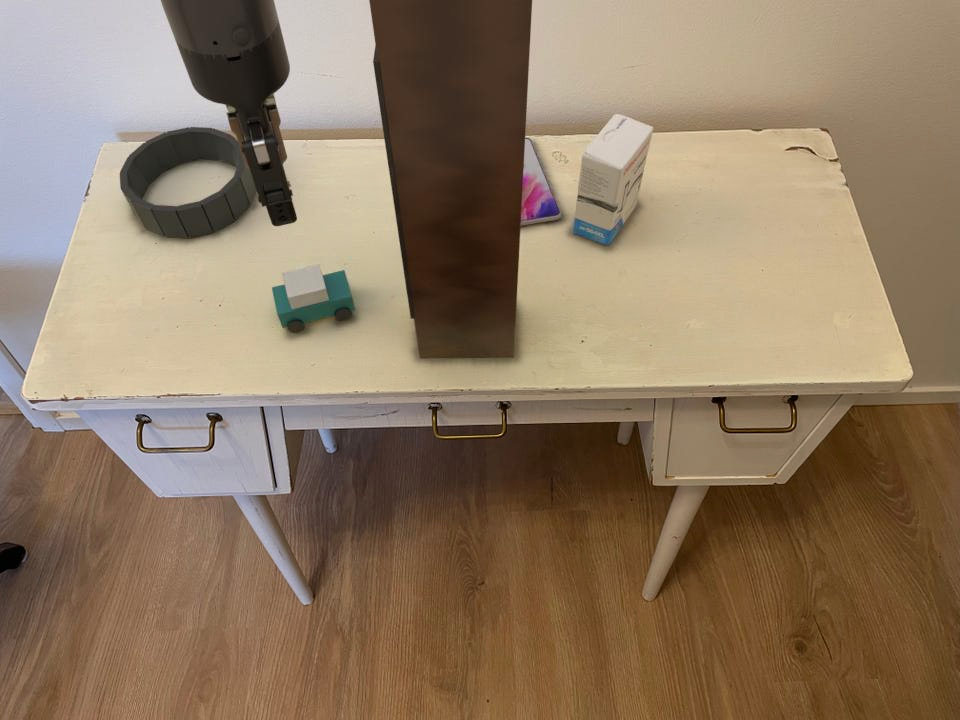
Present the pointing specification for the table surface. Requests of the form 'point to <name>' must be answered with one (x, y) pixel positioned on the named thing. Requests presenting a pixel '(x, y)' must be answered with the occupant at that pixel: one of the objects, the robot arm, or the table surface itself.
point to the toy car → (312, 297)
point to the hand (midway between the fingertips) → (277, 189)
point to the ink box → (611, 178)
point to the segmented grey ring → (173, 152)
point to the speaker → (456, 163)
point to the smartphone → (536, 190)
